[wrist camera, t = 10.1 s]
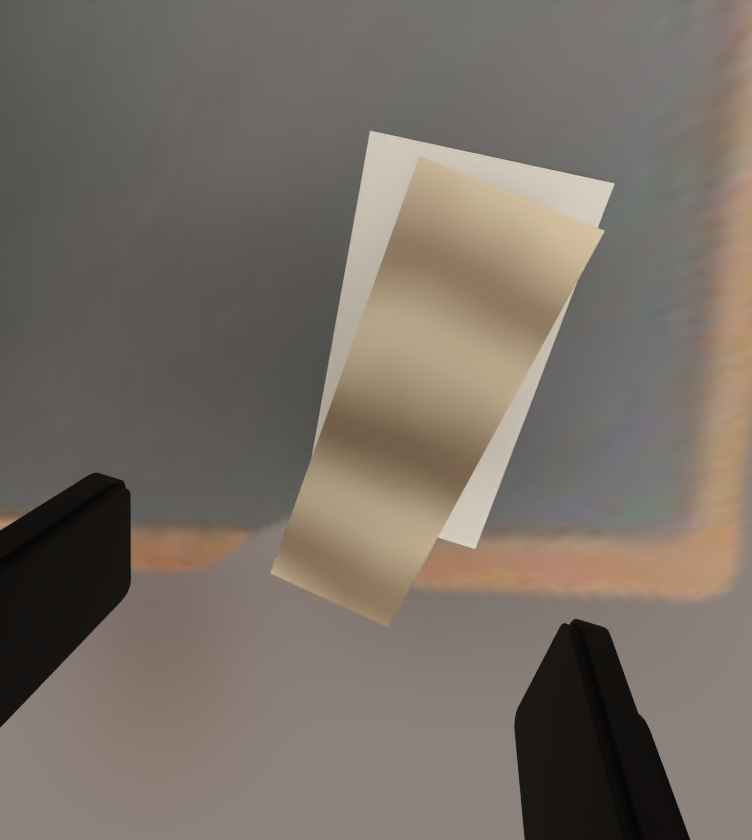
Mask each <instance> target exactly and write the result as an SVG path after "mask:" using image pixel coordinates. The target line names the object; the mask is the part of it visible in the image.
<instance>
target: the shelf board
mask: <svg viewBox="0 0 752 840" xmlns="http://www.w3.org/2000/svg"><path fill="white" fill-rule="evenodd" d="M603 233H604V230H601V229H599V228H596V227H594V226H592V225H589V224H587V223H584V222H582V221H579V220H577V219H574V218H572V217H569V216H567V215H564V214H562V213H559V212H557V211H554V210H552V209H550V208H547V207H545V206H542V205H540V204H537V203H535V202H532V201H530V200H527V199H525V198H522V197H520V196H517V195H515V194H512V193H510V192H508V191H505V190H503V189H500V188H498V187H495V186H493V185H490V184H488V183H485V182H483V181H480V180H478V179H475V178H473V177H470V176H468V175H466V174H463V173H461V172H458V171H456V170H453V169H451V168H448V167H446V166H443V165H441V164H438V163H436V162H433V161H431V160H428V159H426V158H423V157H421V156H419V159H418V161H417V164H416V167H415V170H414V173H413V175H412V178H411V181H410V184H409V187H408V189H407V192H406V195H405V198H404V201H403V203H402V206H401V209H400V212H399V215H398V217H397V220H396V223H395V226H394V229H393V231H392V234H391V237H390V240H389V243H388V245H387V248H386V251H385V254H384V257H383V259H382V262H381V265H380V268H379V271H378V273H377V276H376V279H375V282H374V285H373V287H372V290H371V293H370V296H369V299H368V301H367V304H366V307H365V310H364V313H363V315H362V318H361V321H360V324H359V327H358V329H357V332H356V335H355V338H354V341H353V343H352V346H351V349H350V352H349V355H348V358H347V360H346V363H345V366H344V369H343V372H342V374H341V377H340V380H339V383H338V386H337V388H336V391H335V394H334V397H333V400H332V402H331V405H330V408H329V411H328V414H327V416H326V419H325V422H324V425H323V428H322V430H321V433H320V436H319V439H318V442H317V444H316V447H315V450H314V453H313V456H312V458H311V461H310V464H309V467H308V470H307V472H306V475H305V478H304V481H303V484H302V486H301V489H300V492H299V495H298V498H297V500H296V503H295V506H294V509H293V512H292V514H291V517H290V520H289V523H288V526H287V528H286V531H285V534H284V537H283V540H282V542H281V545H280V548H279V551H278V554H277V556H276V560H275V562H274V565H273V568H272V571H271V574H273V575H275V576H277V577H279V578H281V579H284V580H286V581H288V582H290V583H292V584H295V585H297V586H299V587H301V588H303V589H305V590H308V591H310V592H312V593H314V594H317V595H318V596H321V597H323V598H325V599H327V600H329V601H332V602H334V603H336V604H338V605H340V606H343V607H345V608H347V609H349V610H351V611H353V612H356V613H358V614H360V615H362V616H364V617H367V618H369V619H371V620H373V621H375V622H377V623H380V624H382V625H384V626H386V627H389V626H390V624H391V622H392V620H393V619H394V617H395V615H396V613H397V611H398V609H399V608H400V606H401V604H402V602H403V600H404V598H405V596H406V595H407V593H408V591H409V589H410V587H411V586H412V584H413V582H414V580H415V578H416V576H417V575H418V573H419V571H420V569H421V567H422V565H423V564H424V562H425V560H426V558H427V556H428V554H429V553H430V551H431V549H432V547H433V545H434V543H435V542H436V540H437V538H438V536H439V534H440V532H441V531H442V529H443V527H444V525H445V523H446V521H447V520H448V518H449V516H450V514H451V512H452V510H453V509H454V507H455V505H456V503H457V501H458V499H459V498H460V496H461V494H462V492H463V490H464V488H465V486H466V485H467V483H468V481H469V479H470V477H471V475H472V474H473V472H474V470H475V468H476V466H477V464H478V463H479V461H480V459H481V457H482V455H483V453H484V452H485V450H486V448H487V446H488V444H489V442H490V441H491V439H492V437H493V435H494V433H495V431H496V430H497V428H498V426H499V424H500V422H501V420H502V419H503V417H504V415H505V413H506V411H507V409H508V408H509V406H510V404H511V402H512V400H513V398H514V397H515V395H516V393H517V391H518V389H519V387H520V386H521V384H522V382H523V380H524V378H525V376H526V375H527V373H528V371H529V369H530V367H531V365H532V364H533V362H534V360H535V358H536V356H537V354H538V353H539V351H540V349H541V347H542V345H543V343H544V342H545V340H546V338H547V336H548V334H549V332H550V331H551V329H552V327H553V325H554V323H555V321H556V319H557V318H558V316H559V314H560V312H561V310H562V308H563V307H564V305H565V303H566V301H567V299H568V297H569V296H570V294H571V292H572V290H573V288H574V286H575V285H576V283H577V281H578V279H579V277H580V275H581V274H582V272H583V270H584V268H585V266H586V264H587V263H588V261H589V259H590V257H591V255H592V253H593V252H594V250H595V248H596V246H597V244H598V242H599V241H600V239H601V237H602V235H603Z"/></svg>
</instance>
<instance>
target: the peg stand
mask: <svg viewBox="0 0 752 840" xmlns="http://www.w3.org/2000/svg"><path fill="white" fill-rule="evenodd" d="M419 156H421V157H423V158H426V159H428V160H431V161H433V162H436V163H438V164H441V165H443V166H446V167H448V168H451V169H453V170H456V171H458V172H461V173H463V174H466V175H468V176H470V177H473V178H475V179H478V180H480V181H483V182H485V183H488V184H490V185H493V186H495V187H498V188H500V189H503V190H505V191H508V192H510V193H512V194H515V195H517V196H520V197H522V198H525V199H527V200H530V201H532V202H535V203H537V204H540V205H542V206H545V207H547V208H550V209H552V210H554V211H557V212H559V213H562V214H564V215H567V216H569V217H572V218H574V219H577V220H579V221H582V222H584V223H587V224H589V225H592V226H594V227H596V228H598V226H599V223H600V221H601V218H602V215H603V213H604V210H605V207H606V205H607V202H608V200H609V197H610V194H611V192H612V189H613V186H614V183H610V182H605V181H600V180H596V179H591V178H586V177H582V176H577V175H573V174H568V173H563V172H559V171H554V170H549V169H545V168H540V167H535V166H531V165H526V164H522V163H517V162H512V161H508V160H503V159H498V158H494V157H489V156H485V155H480V154H475V153H471V152H466V151H461V150H457V149H452V148H448V147H443V146H438V145H434V144H429V143H424V142H420V141H415V140H410V139H406V138H401V137H397V136H392V135H387V134H383V133H378V132H373V131H370V135H369V141H368V146H367V152H366V157H365V163H364V169H363V174H362V180H361V185H360V191H359V196H358V202H357V208H356V213H355V219H354V224H353V230H352V235H351V241H350V247H349V252H348V258H347V263H346V269H345V275H344V280H343V286H342V291H341V297H340V302H339V308H338V314H337V319H336V325H335V330H334V336H333V341H332V347H331V353H330V358H329V364H328V369H327V375H326V380H325V386H324V392H323V397H322V403H321V408H320V414H319V419H318V425H317V431H316V436H315V442H314V447H313V453H314V450H315V447H316V444H317V442H318V439H319V436H320V433H321V430H322V428H323V425H324V422H325V419H326V416H327V414H328V411H329V408H330V405H331V402H332V400H333V397H334V394H335V391H336V388H337V386H338V383H339V380H340V377H341V374H342V372H343V369H344V366H345V363H346V360H347V358H348V355H349V352H350V349H351V346H352V343H353V341H354V338H355V335H356V332H357V329H358V327H359V324H360V321H361V318H362V315H363V313H364V310H365V307H366V304H367V301H368V299H369V296H370V293H371V290H372V287H373V285H374V282H375V279H376V276H377V273H378V271H379V268H380V265H381V262H382V259H383V257H384V254H385V251H386V248H387V245H388V243H389V240H390V237H391V234H392V231H393V229H394V226H395V223H396V220H397V217H398V215H399V212H400V209H401V206H402V203H403V201H404V198H405V195H406V192H407V189H408V187H409V184H410V181H411V178H412V175H413V173H414V170H415V167H416V164H417V161H418V159H419ZM576 284H577V283H576ZM575 286H576V285H575ZM575 286H574V288H573V290H572V292H571V294H570V296H569V297H568V299H567V301H566V303H565V305H564V307H563V308H562V310H561V312H560V314H559V316H558V318H557V319H556V321H555V323H554V325H553V327H552V329H551V331H550V332H549V334H548V336H547V338H546V340H545V342H544V343H543V345H542V347H541V349H540V351H539V353H538V354H537V356H536V358H535V360H534V362H533V364H532V365H531V367H530V369H529V371H528V373H527V375H526V376H525V378H524V380H523V382H522V384H521V386H520V387H519V389H518V391H517V393H516V395H515V397H514V398H513V400H512V402H511V404H510V406H509V408H508V409H507V411H506V413H505V415H504V417H503V419H502V420H501V422H500V424H499V426H498V428H497V430H496V431H495V433H494V435H493V437H492V439H491V441H490V442H489V444H488V446H487V448H486V450H485V452H484V453H483V455H482V457H481V459H480V461H479V463H478V464H477V466H476V468H475V470H474V472H473V474H472V475H471V477H470V479H469V481H468V483H467V485H466V486H465V488H464V490H463V492H462V494H461V496H460V498H459V499H458V501H457V503H456V505H455V507H454V509H453V510H452V512H451V514H450V516H449V518H448V520H447V521H446V523H445V525H444V527H443V529H442V531H441V532H440V534H439V536H438V538H441V539H444V540H448V541H451V542H454V543H457V544H461V545H464V546H467V547H470V548H473V549H476V546H477V543H478V541H479V538H480V535H481V533H482V530H483V528H484V525H485V522H486V520H487V517H488V514H489V512H490V509H491V507H492V504H493V501H494V499H495V496H496V493H497V491H498V488H499V486H500V483H501V480H502V478H503V475H504V472H505V470H506V467H507V465H508V462H509V459H510V457H511V454H512V451H513V449H514V446H515V444H516V441H517V438H518V436H519V433H520V430H521V428H522V425H523V423H524V420H525V417H526V415H527V412H528V409H529V407H530V404H531V402H532V399H533V396H534V394H535V391H536V388H537V386H538V383H539V381H540V378H541V375H542V373H543V370H544V367H545V365H546V362H547V360H548V357H549V354H550V352H551V349H552V346H553V344H554V341H555V339H556V336H557V333H558V331H559V328H560V326H561V323H562V320H563V318H564V315H565V312H566V310H567V307H568V305H569V302H570V299H571V297H572V294H573V291H574V289H575ZM313 453H312V456H313Z"/></svg>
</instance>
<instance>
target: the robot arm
mask: <svg viewBox="0 0 752 840" xmlns="http://www.w3.org/2000/svg"><path fill="white" fill-rule="evenodd" d="M130 583H131V514H130V491H129V490H128V489H126V487H125V483H124V482H123V481H122V480H120V479H117V478H113V477H110V476H107V475H103V474H100V473H92V474H90V475H88V476H87V477H85V478H83V479H82V480H80V481H79V482H77V483H75V484H74V485H72V486H71V487H69V488H67V489H66V490H64V491H63V492H61V493H59V494H58V495H56V496H55V497H53V498H51V499H50V500H48V501H47V502H45V503H43V504H42V505H40V506H39V507H37V508H35V509H34V510H32V511H31V512H29V513H27V514H26V515H24V516H23V517H21V518H19V519H18V520H16V521H15V522H13V523H11V524H10V525H8V526H7V527H5V528H3V529H2V530H0V727H1V726H2V725H3V724H4V723H5V722H6V721H7V720H8V719H9V718H10V717H11V716H12V715H13V714H14V713H15V712H16V710H17V709H19V707H20V706H21V705H22V704H23V703H24V702H25V701H26V700H27V699H28V698H29V697H30V696H31V695H32V694H33V693H34V692H35V691H36V690H37V689H38V688H39V687H40V685H41V684H42V683H43V682H44V681H45V680H46V679H47V678H48V677H49V676H50V675H51V674H52V673H53V672H54V671H55V670H56V669H57V668H58V667H59V666H60V664H62V662H63V661H64V660H65V659H66V658H67V657H68V656H69V655H70V654H71V653H72V652H73V651H74V650H75V649H76V648H77V647H78V646H79V645H80V644H81V643H82V642H83V640H84V639H85V638H86V637H87V636H88V635H89V634H90V633H91V632H92V631H93V630H94V629H95V628H96V627H97V626H98V625H99V624H100V623H101V622H102V621H103V620H104V619H105V618H106V616H107V615H108V614H109V613H110V612H111V611H112V610H113V609H114V608H115V607H116V606H117V605H118V604H119V603H120V602H121V601H122V599H123V598H124V597H125V596H126V594H127V592H128V590H129V587H130ZM514 727H515V739H516V750H517V761H518V772H519V783H520V794H521V804H522V816H523V826H524V837H525V840H690V838H689V836H688V832H687V830H686V827H685V824H684V822H683V819H682V816H681V813H680V811H679V808H678V805H677V802H676V800H675V797H674V794H673V792H672V789H671V786H670V783H669V781H668V778H667V775H666V772H665V770H664V767H663V764H662V762H661V759H660V756H659V754H658V751H657V748H656V745H655V743H654V740H653V737H652V734H651V732H650V729H649V727H648V725H647V723H646V721H645V720H644V719H643V718H642V716H641V715H639V714H638V711H637V709H636V706H635V703H634V700H633V697H632V694H631V692H630V689H629V686H628V683H627V681H626V678H625V675H624V672H623V669H622V666H621V664H620V661H619V658H618V655H617V652H616V650H615V647H614V644H613V641H612V638H611V635H610V633H609V631H608V630H607V629H606V628H604V627H602V626H598V625H595V624H592V623H589V622H585V621H582V620H578V619H574V620H573V621H572V622H571V623H570V625H569V624H566V623H563V624H562V625H561V626H560V628H559V630H558V632H557V634H556V636H555V638H554V639H553V641H552V644H551V645H550V647H549V649H548V651H547V653H546V655H545V657H544V659H543V661H542V663H541V664H540V666H539V668H538V670H537V672H536V674H535V676H534V678H533V680H532V682H531V684H530V686H529V688H528V689H527V691H526V693H525V695H524V697H523V699H522V701H521V703H520V705H519V707H518V709H517V712H516V716H515V726H514Z"/></svg>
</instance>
